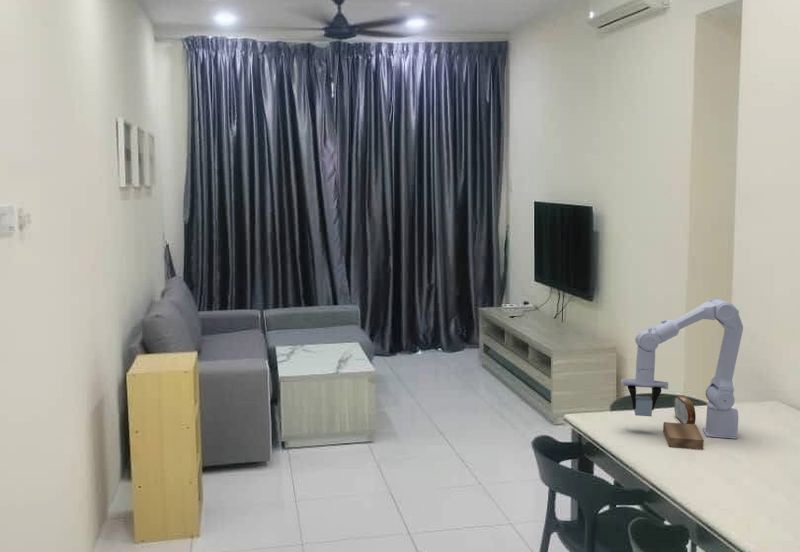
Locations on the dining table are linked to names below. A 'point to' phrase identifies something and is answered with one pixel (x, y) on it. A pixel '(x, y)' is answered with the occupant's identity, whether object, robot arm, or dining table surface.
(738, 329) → the robot arm
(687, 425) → the plinth
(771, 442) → the dining table surface
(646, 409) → the block
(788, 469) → the dining table surface
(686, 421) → the tin
